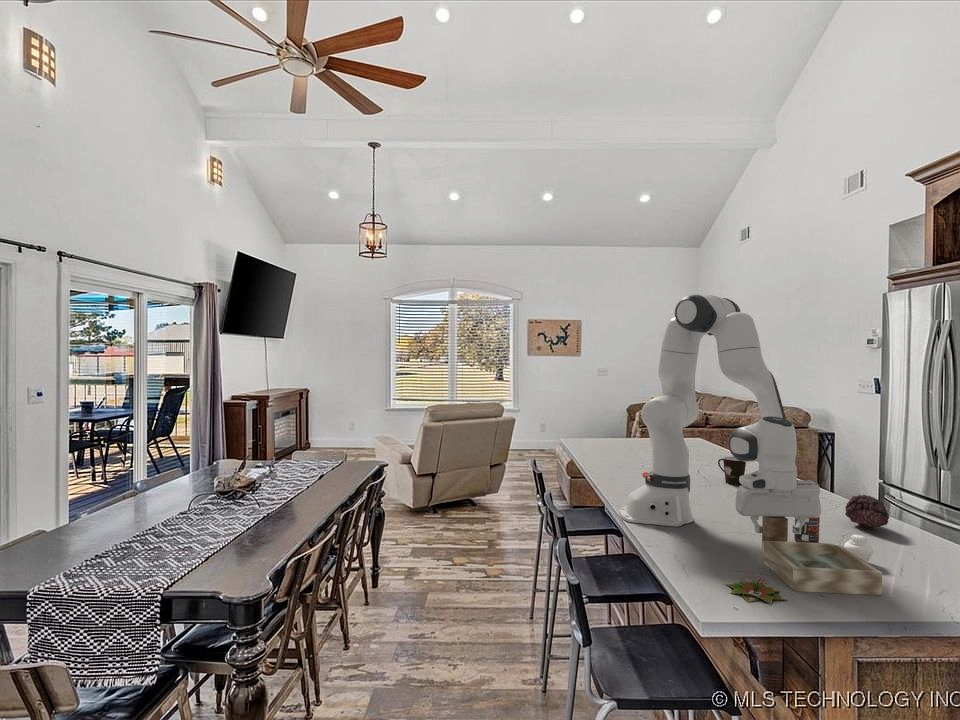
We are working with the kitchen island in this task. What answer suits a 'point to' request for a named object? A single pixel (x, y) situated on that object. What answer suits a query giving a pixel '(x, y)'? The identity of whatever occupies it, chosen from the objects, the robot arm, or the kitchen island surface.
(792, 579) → the peg box
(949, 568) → the kitchen island surface
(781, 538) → the peg
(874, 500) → the pine cone
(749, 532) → the kitchen island surface
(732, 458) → the coffee mug
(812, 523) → the supplement bottle
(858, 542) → the white ribbed rounded lump
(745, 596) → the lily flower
